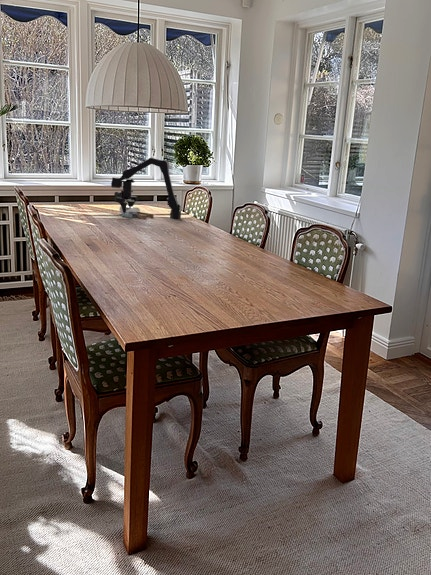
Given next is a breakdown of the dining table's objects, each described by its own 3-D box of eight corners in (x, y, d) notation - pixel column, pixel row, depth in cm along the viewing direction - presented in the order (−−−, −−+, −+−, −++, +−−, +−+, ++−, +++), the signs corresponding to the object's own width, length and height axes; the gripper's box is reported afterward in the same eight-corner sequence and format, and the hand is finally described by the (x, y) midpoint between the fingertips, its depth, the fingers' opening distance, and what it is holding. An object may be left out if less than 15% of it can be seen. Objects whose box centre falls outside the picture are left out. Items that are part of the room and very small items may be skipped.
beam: (153, 218, 353) (153, 214, 352) (145, 220, 345) (145, 215, 344) (127, 213, 363) (127, 209, 362) (118, 215, 355) (118, 210, 354)
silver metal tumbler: (139, 215, 355) (140, 207, 354) (134, 216, 350) (135, 207, 349) (124, 213, 361) (124, 205, 360) (119, 213, 356) (119, 205, 355)
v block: (137, 218, 348) (137, 213, 348) (131, 219, 343) (131, 214, 343) (127, 216, 352) (127, 212, 351) (121, 217, 347) (121, 213, 346)
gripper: (126, 186, 364) (125, 209, 368) (108, 188, 348) (108, 211, 352) (139, 188, 359) (138, 211, 363) (122, 190, 343) (121, 214, 347)
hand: (126, 212), depth 357 cm, fingers closed on silver metal tumbler, 6 cm apart
